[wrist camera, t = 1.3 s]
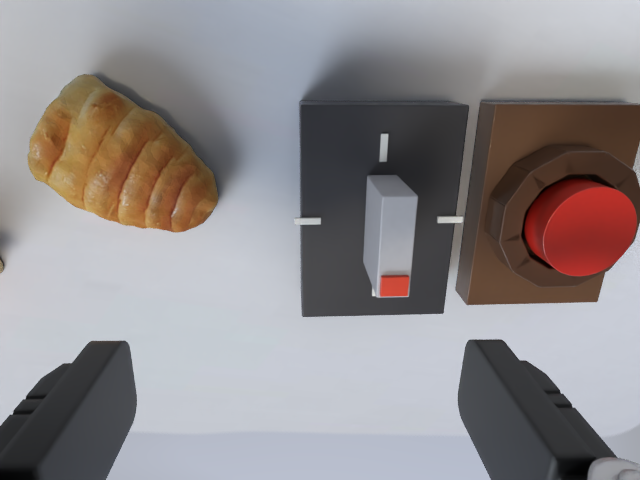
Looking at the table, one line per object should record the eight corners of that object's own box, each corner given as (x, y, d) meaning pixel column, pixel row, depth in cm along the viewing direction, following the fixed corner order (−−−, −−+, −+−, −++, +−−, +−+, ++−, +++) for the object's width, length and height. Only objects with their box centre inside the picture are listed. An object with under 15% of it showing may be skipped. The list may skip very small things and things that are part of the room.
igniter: (480, 101, 25) (513, 106, 21) (623, 102, 25) (680, 107, 22) (455, 290, 29) (479, 322, 25) (578, 287, 30) (619, 319, 26)
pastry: (243, 156, 25) (234, 171, 22) (191, 250, 27) (176, 277, 24) (83, 64, 23) (45, 63, 19) (39, 173, 25) (-3, 190, 21)
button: (532, 178, 23) (553, 187, 21) (620, 177, 23) (648, 186, 21) (517, 262, 25) (535, 277, 23) (599, 260, 25) (623, 275, 23)
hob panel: (293, 100, 24) (293, 104, 21) (456, 101, 25) (478, 105, 22) (295, 293, 29) (296, 319, 26) (434, 290, 29) (450, 315, 26)
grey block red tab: (366, 174, 23) (383, 197, 19) (397, 174, 23) (420, 197, 19) (363, 262, 25) (377, 300, 21) (390, 261, 25) (410, 300, 21)
